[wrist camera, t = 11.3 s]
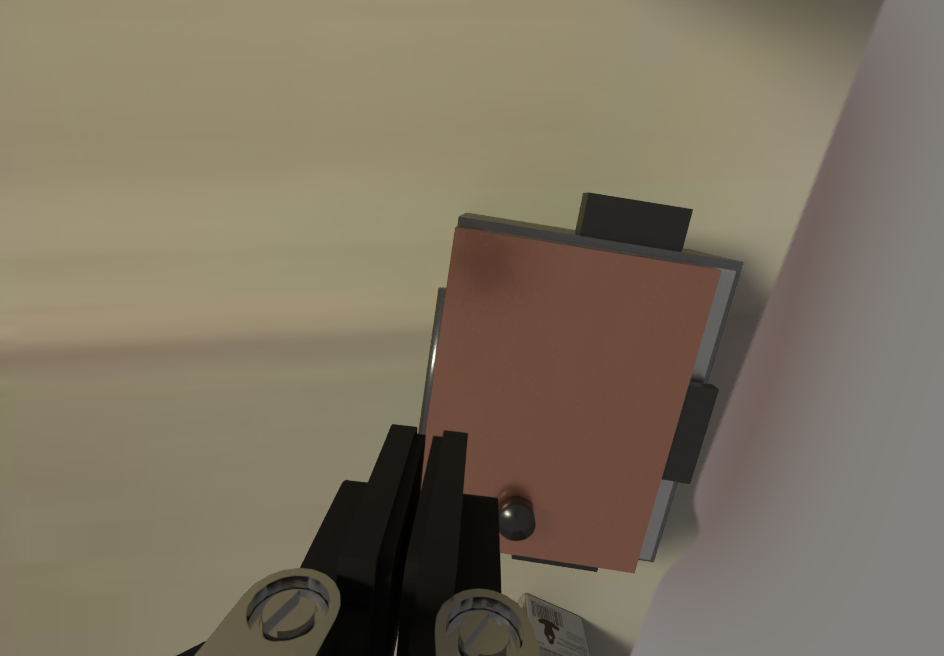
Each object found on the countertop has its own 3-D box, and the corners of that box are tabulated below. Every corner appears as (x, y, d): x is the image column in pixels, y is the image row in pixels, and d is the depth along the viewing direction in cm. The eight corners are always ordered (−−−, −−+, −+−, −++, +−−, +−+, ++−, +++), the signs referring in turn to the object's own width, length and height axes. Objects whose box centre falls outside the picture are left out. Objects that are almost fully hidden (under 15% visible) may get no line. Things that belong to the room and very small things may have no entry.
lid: (448, 224, 27) (443, 227, 24) (739, 271, 27) (768, 279, 24) (406, 520, 31) (398, 551, 29) (653, 557, 32) (670, 592, 29)
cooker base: (471, 179, 36) (464, 170, 26) (692, 215, 36) (772, 220, 26) (427, 474, 42) (408, 560, 32) (615, 503, 42) (656, 599, 32)
